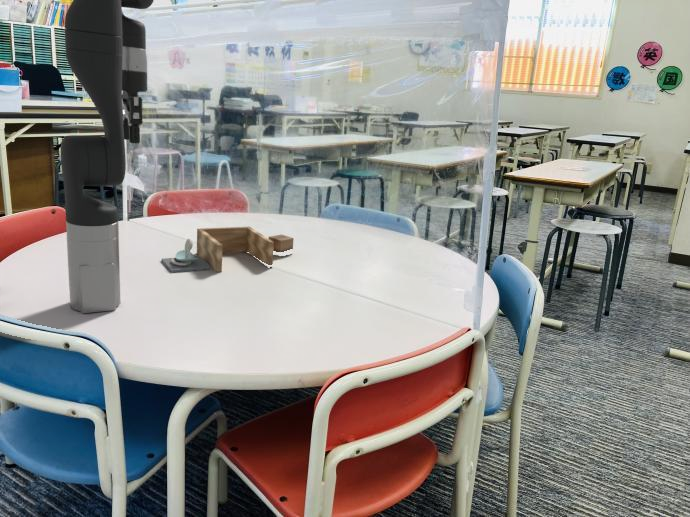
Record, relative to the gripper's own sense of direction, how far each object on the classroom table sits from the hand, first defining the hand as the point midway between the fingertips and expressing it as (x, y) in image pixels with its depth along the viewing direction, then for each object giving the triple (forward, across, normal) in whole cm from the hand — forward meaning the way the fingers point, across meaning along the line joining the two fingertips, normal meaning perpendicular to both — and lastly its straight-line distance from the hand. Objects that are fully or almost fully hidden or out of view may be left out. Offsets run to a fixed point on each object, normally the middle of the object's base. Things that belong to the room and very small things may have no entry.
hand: (130, 141), depth 129 cm
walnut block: (+30, -1, -40) cm, 50 cm away
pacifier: (+30, -5, -11) cm, 32 cm away
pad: (+30, -5, -12) cm, 33 cm away
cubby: (+30, -4, -25) cm, 39 cm away
